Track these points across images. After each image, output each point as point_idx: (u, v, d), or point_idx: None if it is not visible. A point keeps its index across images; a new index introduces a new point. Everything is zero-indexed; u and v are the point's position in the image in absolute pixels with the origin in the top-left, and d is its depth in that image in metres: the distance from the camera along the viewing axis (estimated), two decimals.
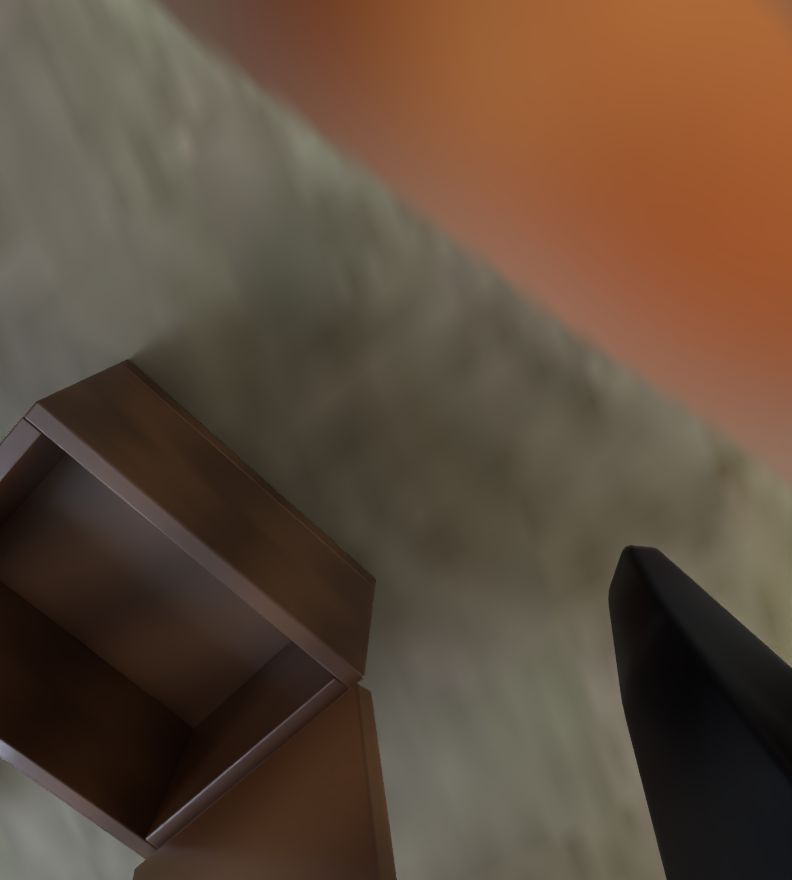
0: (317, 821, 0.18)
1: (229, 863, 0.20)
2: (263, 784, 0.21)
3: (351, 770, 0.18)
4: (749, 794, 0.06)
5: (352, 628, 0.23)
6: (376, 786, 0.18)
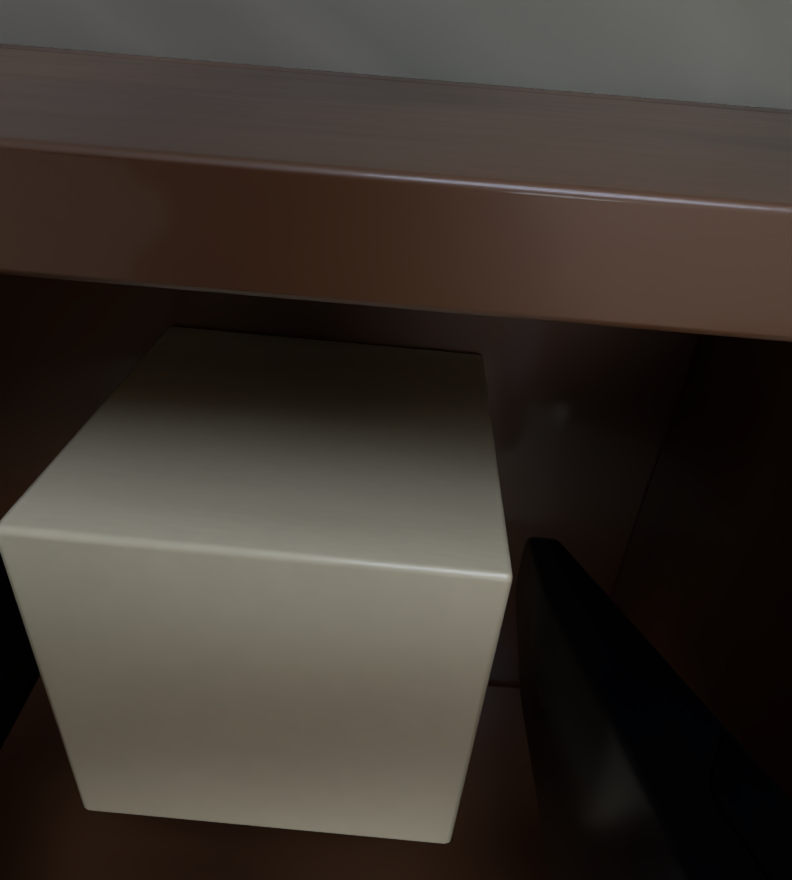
0: None
1: None
2: None
3: None
4: (602, 781, 0.06)
5: None
6: None
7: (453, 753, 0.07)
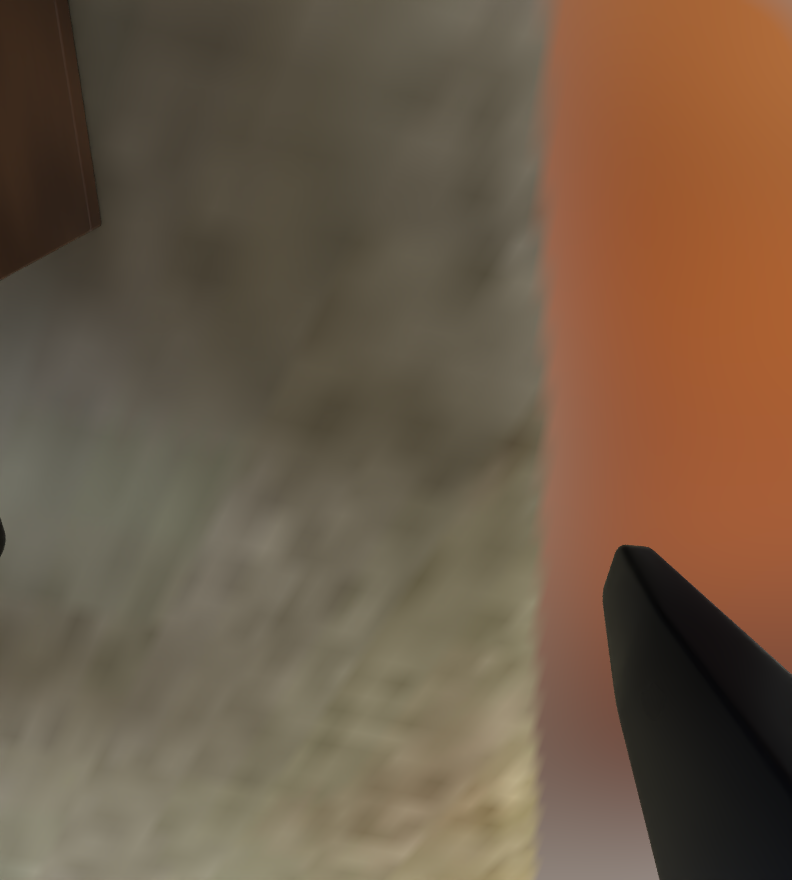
0: None
1: None
2: None
3: None
4: (740, 794, 0.06)
5: (14, 235, 0.15)
6: None
7: None
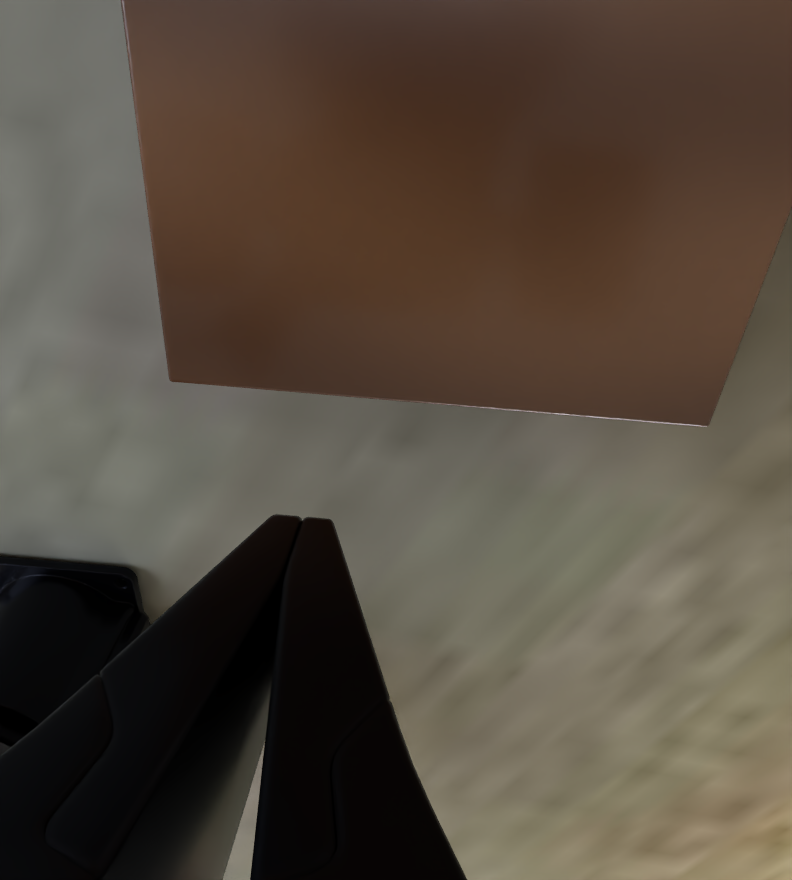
0: None
1: None
2: None
3: None
4: None
5: None
6: None
7: None
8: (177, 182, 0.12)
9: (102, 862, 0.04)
